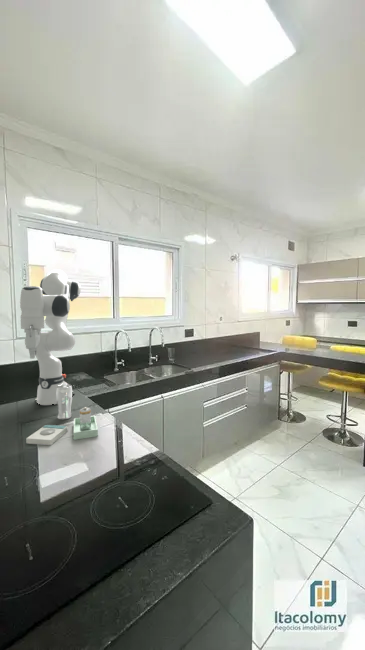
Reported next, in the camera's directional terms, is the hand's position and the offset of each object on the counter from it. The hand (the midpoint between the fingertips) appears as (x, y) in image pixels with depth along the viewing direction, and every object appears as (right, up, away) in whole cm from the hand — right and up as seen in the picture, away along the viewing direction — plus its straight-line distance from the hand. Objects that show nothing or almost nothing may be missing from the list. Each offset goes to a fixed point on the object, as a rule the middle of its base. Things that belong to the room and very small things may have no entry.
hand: (33, 356), depth 119 cm
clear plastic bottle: (+8, -31, +13) cm, 34 cm away
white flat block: (+10, -32, -7) cm, 34 cm away
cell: (+23, -31, -2) cm, 39 cm away
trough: (+23, -31, -1) cm, 39 cm away
